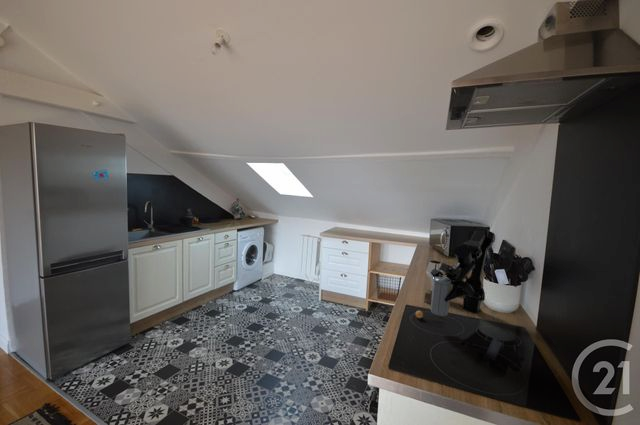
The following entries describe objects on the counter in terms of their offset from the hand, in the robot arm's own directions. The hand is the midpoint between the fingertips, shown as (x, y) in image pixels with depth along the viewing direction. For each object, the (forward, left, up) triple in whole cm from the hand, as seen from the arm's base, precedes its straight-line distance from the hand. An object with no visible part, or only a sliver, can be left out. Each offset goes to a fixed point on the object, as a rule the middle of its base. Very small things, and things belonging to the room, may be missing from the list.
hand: (438, 297), depth 115 cm
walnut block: (+16, -23, -14) cm, 31 cm away
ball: (+9, -2, -12) cm, 15 cm away
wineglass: (+21, -33, -14) cm, 42 cm away
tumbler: (0, -1, -7) cm, 7 cm away
